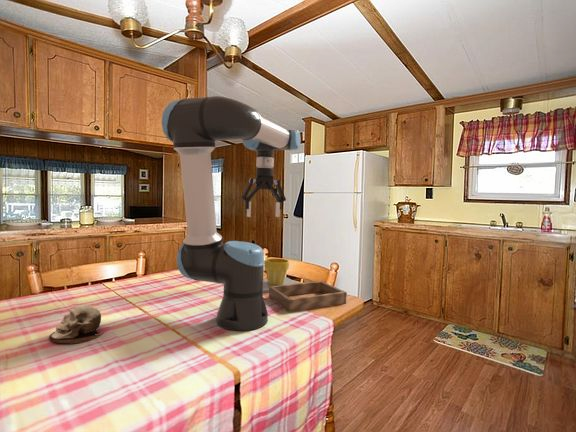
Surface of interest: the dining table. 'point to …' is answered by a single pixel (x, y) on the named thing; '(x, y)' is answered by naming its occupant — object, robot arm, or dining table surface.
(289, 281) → the slate tray
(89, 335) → the skull
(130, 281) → the dining table surface
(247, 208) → the robot arm
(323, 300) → the walnut crate
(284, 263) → the plant pot
